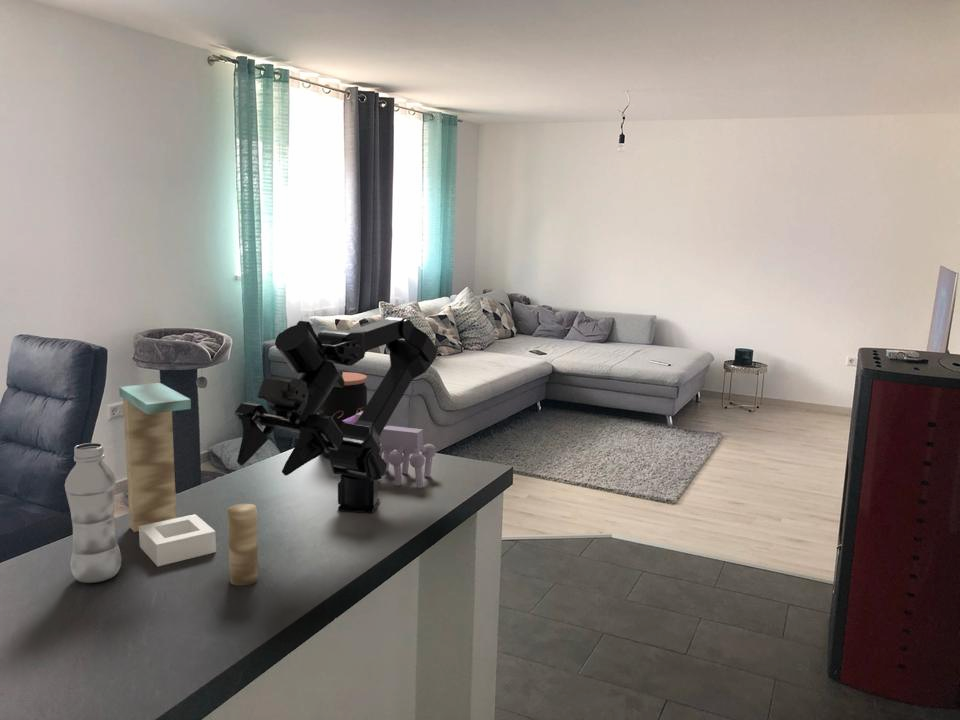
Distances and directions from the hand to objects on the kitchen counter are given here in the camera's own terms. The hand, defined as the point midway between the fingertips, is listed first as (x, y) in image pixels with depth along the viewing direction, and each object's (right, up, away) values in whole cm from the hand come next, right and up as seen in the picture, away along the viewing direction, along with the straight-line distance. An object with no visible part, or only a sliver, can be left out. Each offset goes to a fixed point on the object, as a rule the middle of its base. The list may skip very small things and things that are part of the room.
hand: (261, 468), depth 121 cm
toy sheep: (+14, -8, +42) cm, 45 cm away
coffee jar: (+3, -5, +57) cm, 57 cm away
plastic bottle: (-22, -15, -7) cm, 28 cm away
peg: (-1, -15, -6) cm, 17 cm away
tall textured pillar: (-19, -12, +8) cm, 24 cm away
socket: (-14, -13, +4) cm, 20 cm away
